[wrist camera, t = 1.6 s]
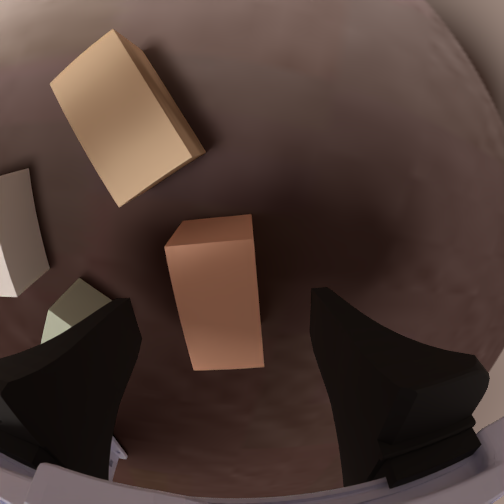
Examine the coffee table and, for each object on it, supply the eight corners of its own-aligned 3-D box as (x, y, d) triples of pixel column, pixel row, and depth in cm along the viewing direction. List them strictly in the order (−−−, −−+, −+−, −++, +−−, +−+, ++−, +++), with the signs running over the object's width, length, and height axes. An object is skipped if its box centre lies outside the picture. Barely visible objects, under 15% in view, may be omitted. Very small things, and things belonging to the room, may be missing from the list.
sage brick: (97, 363, 17) (78, 400, 14) (59, 338, 16) (35, 371, 13) (125, 307, 15) (101, 346, 12) (80, 276, 15) (48, 309, 11)
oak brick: (206, 152, 12) (192, 156, 9) (149, 189, 13) (119, 207, 10) (143, 51, 10) (112, 28, 7) (91, 92, 11) (49, 83, 8)
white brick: (51, 267, 14) (17, 297, 11) (18, 269, 14) (-15, 295, 11) (30, 167, 12) (-13, 179, 9) (-3, 178, 12) (-42, 192, 9)
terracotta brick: (260, 321, 16) (264, 367, 12) (202, 325, 16) (193, 370, 12) (251, 213, 14) (253, 238, 10) (183, 219, 14) (164, 246, 10)
